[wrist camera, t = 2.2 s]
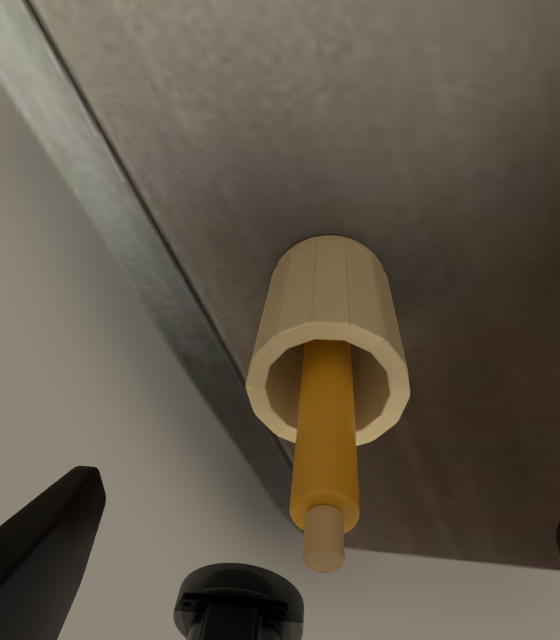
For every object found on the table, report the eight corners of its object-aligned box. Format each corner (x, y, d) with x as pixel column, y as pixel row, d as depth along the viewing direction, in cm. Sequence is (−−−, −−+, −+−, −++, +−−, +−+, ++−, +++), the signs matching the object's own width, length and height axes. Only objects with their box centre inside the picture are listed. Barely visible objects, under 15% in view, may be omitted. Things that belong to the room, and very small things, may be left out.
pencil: (346, 314, 17) (359, 587, 8) (308, 312, 17) (285, 581, 9) (349, 279, 16) (365, 540, 8) (309, 278, 16) (285, 534, 8)
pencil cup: (382, 341, 18) (400, 454, 13) (270, 336, 18) (248, 445, 13) (395, 236, 16) (422, 326, 11) (268, 232, 16) (241, 318, 11)
